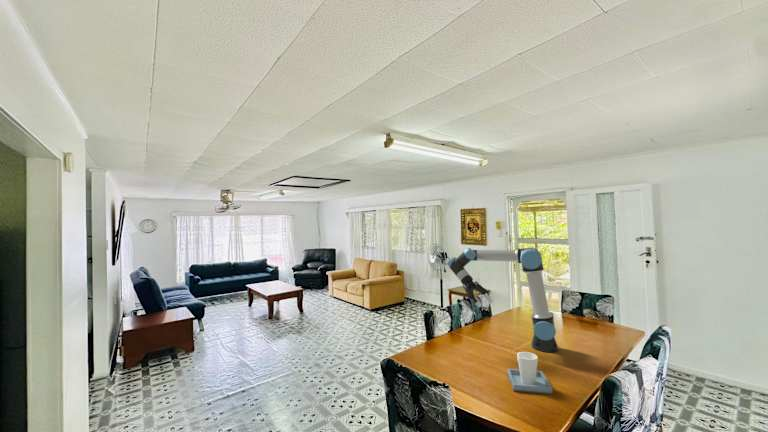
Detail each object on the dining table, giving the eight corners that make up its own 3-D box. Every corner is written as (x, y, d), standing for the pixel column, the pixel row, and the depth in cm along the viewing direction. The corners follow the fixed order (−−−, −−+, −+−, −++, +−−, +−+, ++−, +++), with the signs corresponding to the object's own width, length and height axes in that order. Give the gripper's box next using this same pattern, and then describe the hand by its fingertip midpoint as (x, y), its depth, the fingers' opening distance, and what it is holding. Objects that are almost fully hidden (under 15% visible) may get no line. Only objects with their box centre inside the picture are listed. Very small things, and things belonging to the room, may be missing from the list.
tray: (542, 376, 161) (541, 371, 161) (552, 394, 144) (552, 387, 145) (507, 374, 165) (507, 368, 165) (513, 391, 148) (513, 384, 148)
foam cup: (514, 378, 159) (513, 352, 159) (531, 376, 160) (530, 351, 160) (524, 387, 150) (523, 360, 150) (542, 386, 150) (541, 359, 151)
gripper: (471, 278, 216) (492, 304, 205) (450, 284, 199) (472, 311, 188) (478, 272, 213) (499, 297, 201) (457, 276, 196) (479, 304, 184)
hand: (486, 304), depth 195 cm, fingers open, 13 cm apart
